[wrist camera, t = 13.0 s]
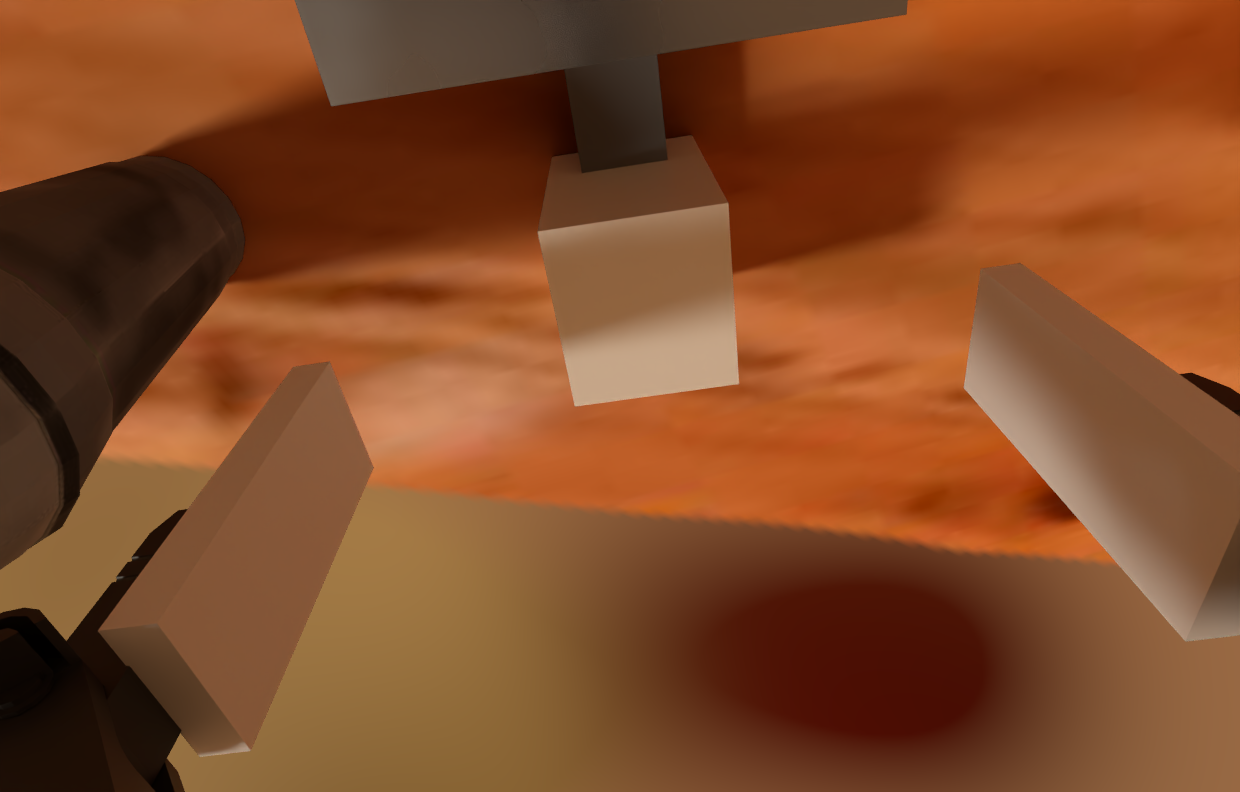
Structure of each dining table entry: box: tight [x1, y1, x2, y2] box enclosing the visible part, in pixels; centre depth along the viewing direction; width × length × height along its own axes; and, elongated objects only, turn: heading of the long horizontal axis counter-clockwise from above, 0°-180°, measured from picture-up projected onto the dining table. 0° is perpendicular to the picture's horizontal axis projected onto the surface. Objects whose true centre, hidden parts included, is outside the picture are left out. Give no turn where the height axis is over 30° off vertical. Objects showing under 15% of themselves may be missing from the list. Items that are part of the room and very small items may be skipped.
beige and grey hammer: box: [538, 54, 739, 406], centre depth 18 cm, size 16×4×7 cm, turn 8°
